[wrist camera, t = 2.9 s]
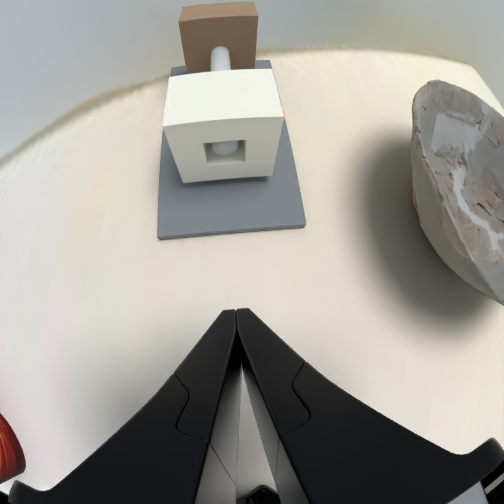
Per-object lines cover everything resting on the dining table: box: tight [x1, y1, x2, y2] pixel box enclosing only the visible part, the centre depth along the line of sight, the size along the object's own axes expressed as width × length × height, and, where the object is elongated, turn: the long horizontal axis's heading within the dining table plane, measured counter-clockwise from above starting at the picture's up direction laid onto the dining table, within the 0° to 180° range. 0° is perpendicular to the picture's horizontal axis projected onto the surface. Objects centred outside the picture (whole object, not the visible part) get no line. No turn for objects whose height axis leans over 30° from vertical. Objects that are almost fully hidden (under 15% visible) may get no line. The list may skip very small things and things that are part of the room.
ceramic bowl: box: [411, 80, 504, 306], centre depth 19 cm, size 22×23×10 cm
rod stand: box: [158, 2, 306, 240], centre depth 20 cm, size 22×12×10 cm, turn 6°
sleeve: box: [162, 69, 284, 183], centre depth 19 cm, size 5×7×7 cm
